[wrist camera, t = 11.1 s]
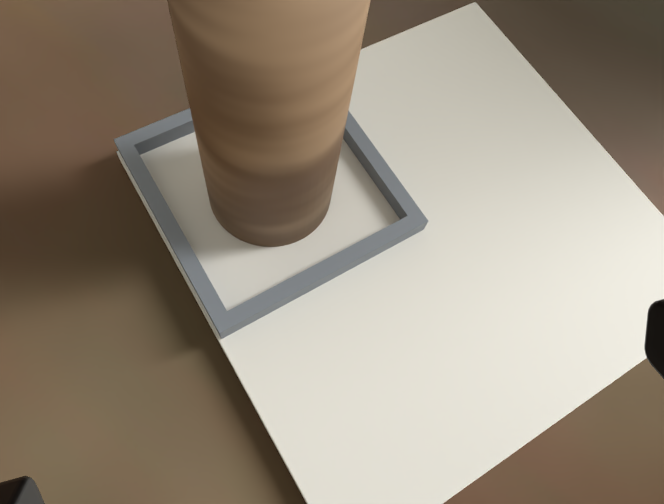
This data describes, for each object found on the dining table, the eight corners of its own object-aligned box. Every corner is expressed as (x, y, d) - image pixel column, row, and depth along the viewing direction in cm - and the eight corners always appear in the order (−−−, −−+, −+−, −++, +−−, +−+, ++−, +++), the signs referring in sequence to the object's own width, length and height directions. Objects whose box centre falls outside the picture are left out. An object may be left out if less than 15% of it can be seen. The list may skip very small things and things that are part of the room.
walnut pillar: (355, 189, 24) (425, -68, 13) (274, 271, 22) (276, 53, 11) (267, 119, 25) (264, -175, 14) (182, 193, 23) (103, -78, 12)
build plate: (719, 301, 25) (747, 289, 23) (342, 570, 19) (348, 575, 18) (470, 13, 30) (480, -12, 28) (120, 161, 25) (111, 140, 23)
